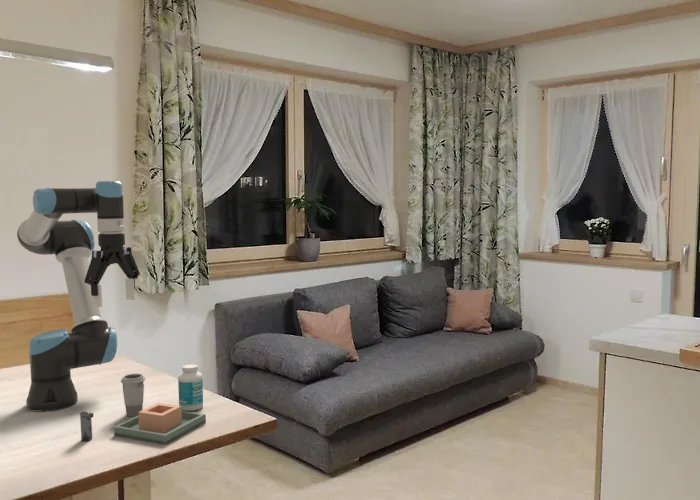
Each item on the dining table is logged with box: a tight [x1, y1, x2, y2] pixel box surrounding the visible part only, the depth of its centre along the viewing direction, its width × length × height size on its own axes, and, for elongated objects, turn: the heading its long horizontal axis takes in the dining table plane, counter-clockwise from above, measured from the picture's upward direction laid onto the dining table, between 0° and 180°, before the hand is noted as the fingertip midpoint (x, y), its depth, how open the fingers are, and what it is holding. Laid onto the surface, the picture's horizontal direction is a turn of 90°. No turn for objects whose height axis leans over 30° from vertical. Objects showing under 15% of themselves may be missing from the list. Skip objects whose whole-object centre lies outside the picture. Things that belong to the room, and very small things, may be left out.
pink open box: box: [138, 402, 182, 433], centre depth 184 cm, size 8×10×5 cm
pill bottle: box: [177, 363, 204, 412], centre depth 201 cm, size 8×7×14 cm
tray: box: [113, 410, 207, 445], centre depth 184 cm, size 18×18×2 cm
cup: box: [120, 372, 146, 418], centre depth 196 cm, size 7×7×12 cm
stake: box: [79, 411, 94, 442], centre depth 176 cm, size 4×3×8 cm
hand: (114, 303), depth 193 cm, fingers open, 13 cm apart
